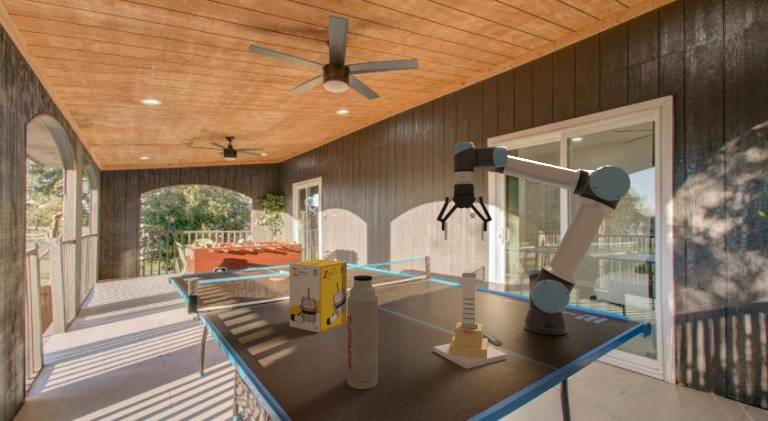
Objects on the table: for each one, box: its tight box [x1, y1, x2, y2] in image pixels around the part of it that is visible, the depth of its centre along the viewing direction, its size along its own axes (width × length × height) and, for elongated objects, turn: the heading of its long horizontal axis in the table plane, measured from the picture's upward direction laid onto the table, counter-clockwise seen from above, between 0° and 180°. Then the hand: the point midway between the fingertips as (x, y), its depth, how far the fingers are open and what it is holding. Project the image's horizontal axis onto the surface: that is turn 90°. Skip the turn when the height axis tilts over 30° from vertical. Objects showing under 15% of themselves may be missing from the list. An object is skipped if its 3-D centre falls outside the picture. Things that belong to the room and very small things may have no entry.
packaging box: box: [288, 259, 348, 334], centre depth 154 cm, size 16×16×25 cm
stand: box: [433, 321, 508, 370], centre depth 120 cm, size 23×23×9 cm
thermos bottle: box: [346, 274, 379, 390], centre depth 101 cm, size 8×8×28 cm
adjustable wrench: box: [476, 322, 503, 346], centre depth 141 cm, size 25×6×2 cm, turn 9°
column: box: [461, 272, 477, 329], centre depth 120 cm, size 4×4×18 cm
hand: (464, 240), depth 144 cm, fingers open, 13 cm apart
